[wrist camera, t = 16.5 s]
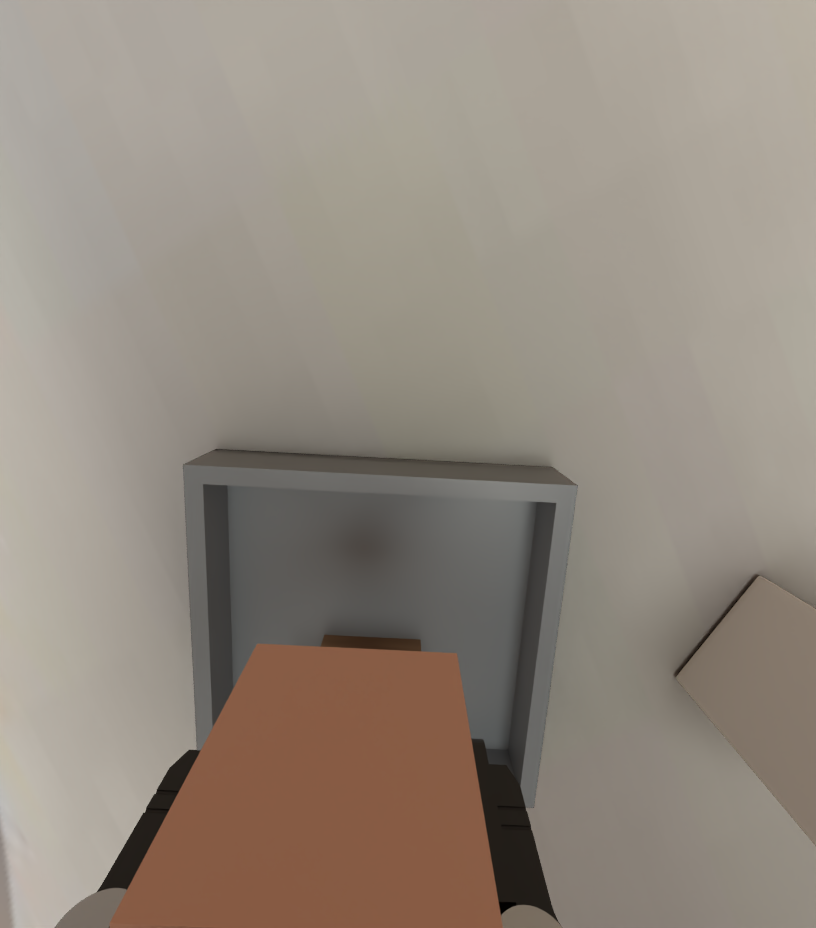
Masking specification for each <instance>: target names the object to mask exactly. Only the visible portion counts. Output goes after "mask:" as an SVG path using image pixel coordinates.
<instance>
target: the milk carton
mask: <svg viewBox="0 0 816 928" xmlns="http://www.w3.org/2000/svg"><path fill="white" fill-rule="evenodd" d="M676 679H677V681H678V682H679V683H680V684H681V686H682V687H683V688H684V689H685V690H686V692H687V693H688V694H689V695H690V696H691V698H692V699H693V700H694V701H695V702H696V704H697V705H698V706H699V707H700V708H701V710H702V711H703V712H704V713H705V714H706V715H707V717H708V718H709V719H710V720H711V721H712V723H713V724H714V725H715V726H716V727H717V729H718V730H719V731H720V732H721V733H722V735H723V736H724V737H725V738H726V739H727V741H728V742H729V743H730V744H731V745H732V747H733V748H734V749H735V750H736V751H737V753H738V754H739V755H740V756H741V757H742V758H743V760H744V761H745V762H746V763H747V764H748V766H749V767H750V768H751V769H752V770H753V772H754V773H755V774H756V775H757V776H758V778H759V779H760V780H761V781H762V782H763V784H764V785H765V786H766V787H767V788H768V790H769V791H770V792H771V793H772V794H773V796H774V797H775V798H776V799H777V800H778V802H779V803H780V804H781V805H782V806H783V807H784V809H785V810H786V811H787V812H788V813H789V815H790V816H791V817H792V818H793V819H794V821H795V822H796V823H797V824H798V825H799V827H800V828H801V829H802V830H803V831H804V833H805V834H806V835H807V836H808V837H809V839H810V840H811V841H812V842H813V843H814V845H815V846H816V609H815V608H813V607H812V606H810V605H809V604H807V603H805V602H804V601H802V600H800V599H799V598H797V597H795V596H794V595H792V594H790V593H789V592H787V591H786V590H784V589H782V588H781V587H779V586H777V585H776V584H774V583H772V582H771V581H769V580H767V579H765V578H764V577H761V576H758V577H757V578H756V579H755V581H754V582H753V583H752V584H751V586H750V587H749V588H748V589H747V590H746V592H745V593H744V594H743V595H742V596H741V598H740V599H739V600H738V601H737V603H736V604H735V605H734V606H733V607H732V609H731V610H730V611H729V612H728V614H727V615H726V616H725V617H724V618H723V620H722V621H721V622H720V623H719V625H718V626H717V627H716V628H715V630H714V631H713V632H712V633H711V634H710V636H709V637H708V638H707V639H706V641H705V642H704V643H703V644H702V645H701V647H700V648H699V649H698V650H697V652H696V653H695V654H694V655H693V657H692V658H691V659H690V660H689V661H688V663H687V664H686V665H685V666H684V668H683V669H682V670H681V671H680V673H679V674H678V675H677V676H676Z"/></svg>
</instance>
